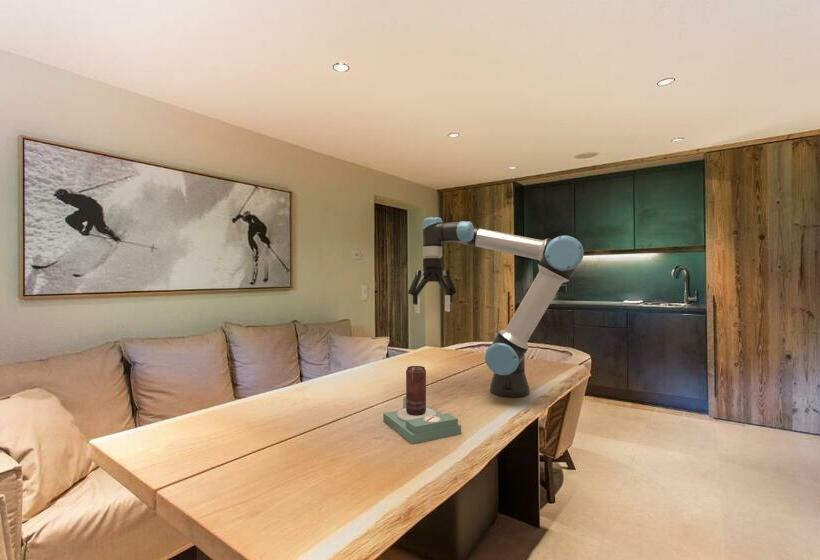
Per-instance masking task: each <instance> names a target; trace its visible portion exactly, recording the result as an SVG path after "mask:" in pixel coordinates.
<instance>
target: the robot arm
mask: <svg viewBox="0 0 820 560" xmlns="http://www.w3.org/2000/svg"><path fill="white" fill-rule="evenodd" d="M443 243H459V244H462V245H466V246H472V247H477V248H482V249H487V250H491V251H496V252H500V253H504V254H510V255H515V256H517V257H519V256H520V257H523V258H529V259H532V260H536V261H537V260H538V261H539V262H538V264H537V267H538V273H537V274H536V277H534V280H533V282H532V283H531V285H530V287H529V288H528V290H527V292H526V293H525V295H524V297H523V298H522V300H521V302H520V304H519V306H518V307H517V309H516V310H515V312H514V314H513V316H512V317H511V320H509V322H508V324H507V326H506V328H505V329H501V330H499V331H498V333H495V334H494V337H493V341H492V343H491V345H490V346H488V347H487V349H486V352H485V356H484V359H485V360H484V361H485V364H486V366H487V368H488V369H489V370H490V371H491V372H492V373H493V375H492V379H491V382H490V386H489V391H490V393H491V394H493V395H496V396H498V397H499V396H501V397H507V398H521V397H523V398H524V397H526V396H529V394H530V385H529V383H528V380H527V376H526V372H525V371H526V369H525V368H526V367H525V365H526V363H525V361H526V359H525V357H526V353H527V351H528V349H529V344H528V341H529V339H530V337H531V336H532V335H533V333H534V331H535V329H536V328H537V326H538V324H539V323H540V321H541V320H542V317H543V316H544V314H545V313H546V311H547V309H548V308H549V306H550V304H551V302H552V300H554V298H555V296H556V294H557V292H558V291H559V290H560V287H561V285H562V284H563V283H567V282H569V281H570V279H571V278H572V276H574V274H575V272H576V270H577V268H578V266H579V265H580V264H581V262H582V261H583V259H584V256H585V255H584V253H585V252H584V251H585V250H584V247H583V244H582V243H581V242H580V241H579V240H578V239H577V238H575V237H573V236H570V235H560V236H557V237H555V238H553V239H552V238H545V239H537V238H532V237H527V236H522V235H518V234H517V235H516V234H512V233H506V232H500V231H496V230H490V229H484V228H481V227H480V228H479V227H476V226H475V227H474V225H473V223H472V221H464V220H462V221H452V222H451V221H450V222H443V219H442V218H441V217H425V218H424V219H423V222H422V256H423V259H422V268H423V270H421V269H416V270H415V275H414V277H413V280H412V283H411V285H410V286H409V289H408V291H407V293H408V295H411V296H412V304H413V305H414V313H415V314H420V312H421V309H420V307H421V299H420V298H421V297H420V295H419V294H420V293H421V291H422V290H423V289H424V288H425V286H426V284H427V283H429V282H431V283H432V282H435V283H436V282H437V283H438V285H439V286H440V287H441V288H442V289H443V291H444V292H445V295H444V312H447V313H450V312H451V304H452V301H453V295H454V294H456V293H457V290H456V287H455V285H454V283H453V281H452V278H451V277H450V271H449V270H448V269H447V270H446V269H444V270H443V259H442V257H443ZM422 275H423V278H422V279H421V277H422ZM442 276H443V277H442ZM443 278H444V279H443ZM420 280H421V281H420ZM444 280H445V281H444ZM419 282H420V283H419Z"/></svg>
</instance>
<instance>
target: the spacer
mask: <svg viewBox="0 0 820 560" xmlns="http://www.w3.org/2000/svg"><path fill="white" fill-rule="evenodd" d="M404 408H406V396H404V397H402V409H404Z"/></svg>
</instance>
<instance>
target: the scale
mask: <svg viewBox="0 0 820 560" xmlns="http://www.w3.org/2000/svg"><path fill="white" fill-rule="evenodd" d="M383 422H384V423H386V425H388V426H389V427H390V428H391V429H392V430H394V431H395V432H397V434H398V435H400V436H401V437H402V438H404V439H405V440H406V441H408V442H409V443H410V444H411V445H414V444H415V445H416V444H419V443H425V442H428V441H434V440H438V439H444V438H448V437H452V436H458V435H461V434H462V425H461V424H460V423H459V419H458V417H456V416H454V415H452V414H450V413H449V412H444V413H441V412H439V411H438V410H436V409H435V408H432V407H430V406H428V405H426V412H425V413H424V414H423V415H417V416H415V415H410V414H408V413H407V411H406V408H404V409H403V408H401V409H399V410H394V411H387V412H383Z"/></svg>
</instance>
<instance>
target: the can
mask: <svg viewBox="0 0 820 560" xmlns="http://www.w3.org/2000/svg"><path fill="white" fill-rule="evenodd" d="M405 375H406V376H405V378H406V379H405V387H406V388H405V395H406V396H405V397H406V411H407V413H408V414H410V415H415V416H417V415H423V414H424V413H425V412H426V406H427V370H426V367H424V366H421V365H411V366H410V365H409V366H407V368H406V370H405Z"/></svg>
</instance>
